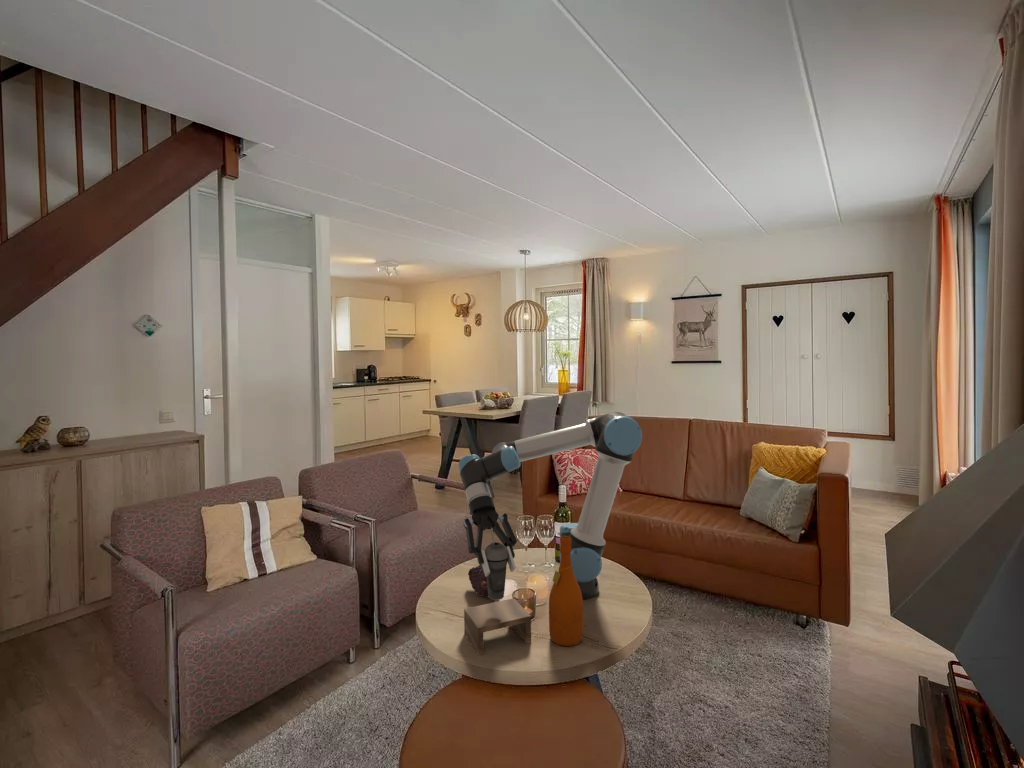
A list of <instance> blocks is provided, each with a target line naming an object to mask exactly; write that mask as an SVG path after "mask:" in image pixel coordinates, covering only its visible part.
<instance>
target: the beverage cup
mask: <svg viewBox="0 0 1024 768" xmlns="http://www.w3.org/2000/svg"><path fill="white" fill-rule="evenodd" d="M490 531H491V540H492V543H490V544H488V545H487V546H486V547H485V549H484V551H485V555H486V559H487V562H488V566H489V570H490V573H489V575H488V576H486V579H487V590H488V596H487V597H488V598H489V599H490V600H493V601H498V600H499V601H500V600H502V599H503V598H504V597H505V590H506V589H505V588H506V578H507V577H506V576H507V565H508V552H507V550H506V547H505V546H504V545H503V543H502V542H497V541H495V537H494V536H495V535H494V532H493V528H491V529H490Z"/></svg>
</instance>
